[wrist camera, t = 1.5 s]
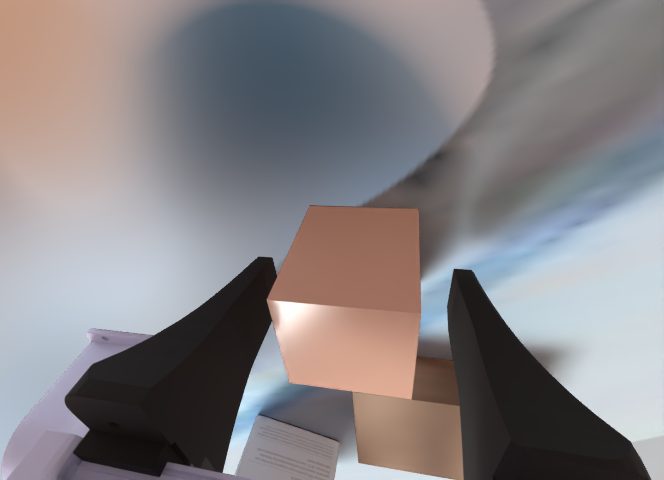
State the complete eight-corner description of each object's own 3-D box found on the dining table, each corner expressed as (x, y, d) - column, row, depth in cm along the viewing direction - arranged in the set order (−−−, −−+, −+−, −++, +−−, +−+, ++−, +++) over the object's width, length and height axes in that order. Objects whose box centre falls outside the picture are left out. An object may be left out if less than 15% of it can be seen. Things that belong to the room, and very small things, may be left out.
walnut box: (363, 418, 26) (358, 462, 23) (359, 344, 20) (352, 391, 18) (491, 437, 24) (500, 487, 21) (524, 361, 18) (540, 416, 16)
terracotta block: (320, 281, 17) (289, 382, 13) (309, 205, 14) (266, 300, 10) (412, 288, 16) (411, 399, 12) (418, 208, 14) (421, 313, 9)
